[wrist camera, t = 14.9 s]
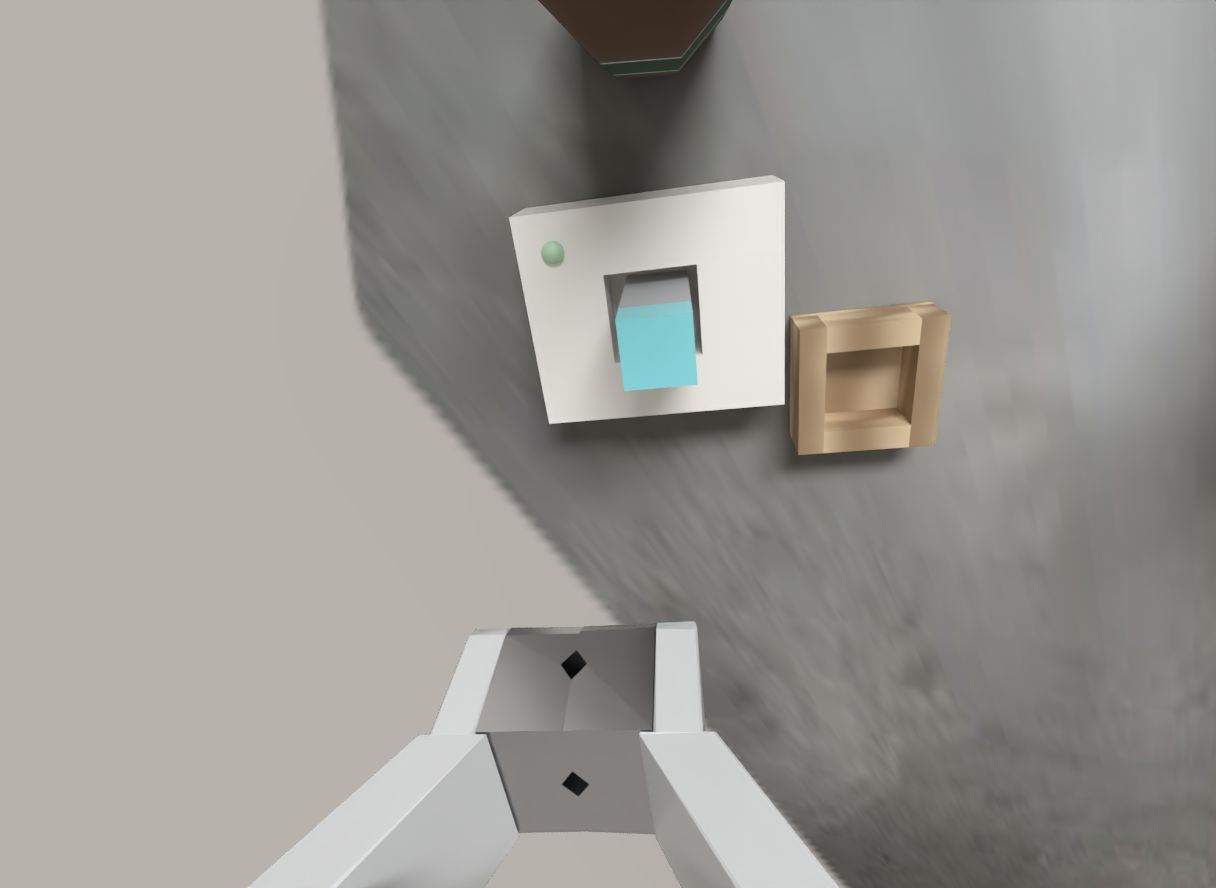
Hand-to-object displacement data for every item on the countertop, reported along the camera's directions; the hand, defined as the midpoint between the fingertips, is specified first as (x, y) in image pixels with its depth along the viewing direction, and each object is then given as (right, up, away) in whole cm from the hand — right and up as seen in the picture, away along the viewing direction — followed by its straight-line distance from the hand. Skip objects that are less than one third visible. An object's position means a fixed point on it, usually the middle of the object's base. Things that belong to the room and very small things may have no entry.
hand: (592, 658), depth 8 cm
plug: (+3, +11, +28) cm, 30 cm away
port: (+3, +12, +29) cm, 31 cm away
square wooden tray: (+16, +7, +30) cm, 35 cm away
